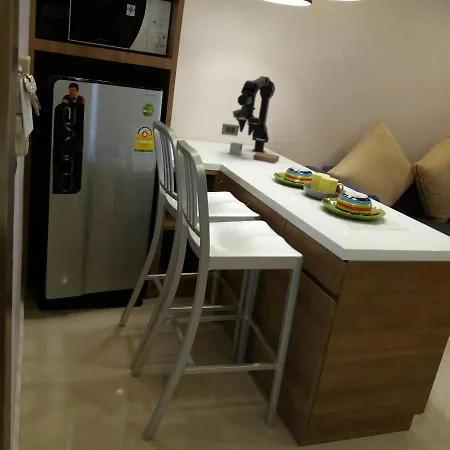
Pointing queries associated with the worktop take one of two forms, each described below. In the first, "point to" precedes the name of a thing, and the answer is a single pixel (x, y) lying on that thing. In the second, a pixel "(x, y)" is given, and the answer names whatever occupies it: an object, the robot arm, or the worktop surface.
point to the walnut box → (266, 157)
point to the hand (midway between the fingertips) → (245, 133)
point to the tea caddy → (235, 148)
